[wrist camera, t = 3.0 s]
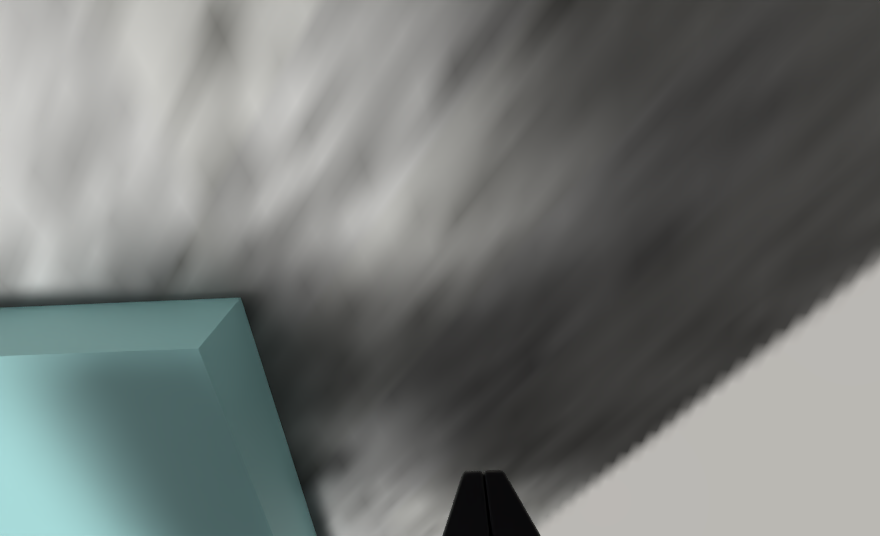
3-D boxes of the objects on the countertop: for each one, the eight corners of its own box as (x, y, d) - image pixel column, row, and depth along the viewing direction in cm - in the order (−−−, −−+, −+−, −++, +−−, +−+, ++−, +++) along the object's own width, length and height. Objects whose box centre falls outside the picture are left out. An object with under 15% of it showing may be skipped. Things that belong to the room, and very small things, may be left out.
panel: (324, 526, 12) (303, 610, 10) (-78, 536, 12) (-167, 618, 10) (251, 284, 8) (198, 348, 6) (-322, 309, 9) (-523, 375, 7)
